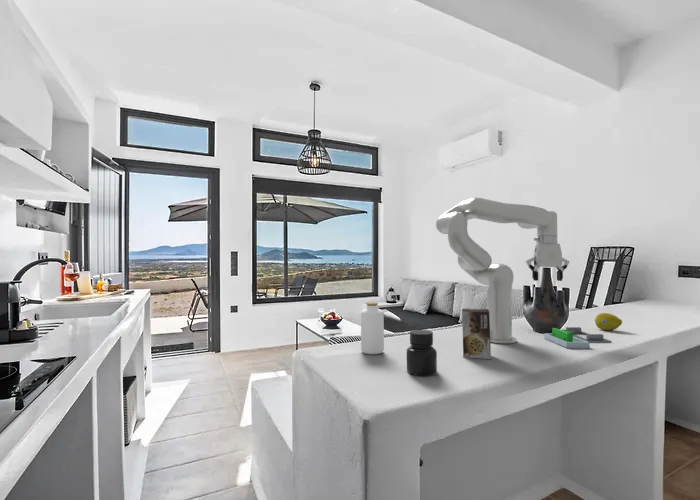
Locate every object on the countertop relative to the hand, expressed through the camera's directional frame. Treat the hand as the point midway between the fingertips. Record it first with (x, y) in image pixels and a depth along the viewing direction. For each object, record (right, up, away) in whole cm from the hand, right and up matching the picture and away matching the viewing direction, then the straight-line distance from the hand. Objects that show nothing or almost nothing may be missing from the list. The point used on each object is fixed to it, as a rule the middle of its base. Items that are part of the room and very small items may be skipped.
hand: (547, 280), depth 150 cm
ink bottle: (-63, -24, -44) cm, 80 cm away
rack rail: (+16, -24, 0) cm, 29 cm away
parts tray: (+1, -24, -10) cm, 26 cm away
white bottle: (-76, -25, -21) cm, 83 cm away
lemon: (+35, -25, +13) cm, 45 cm away
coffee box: (-40, -24, -27) cm, 54 cm away
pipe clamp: (+1, -24, -11) cm, 26 cm away
